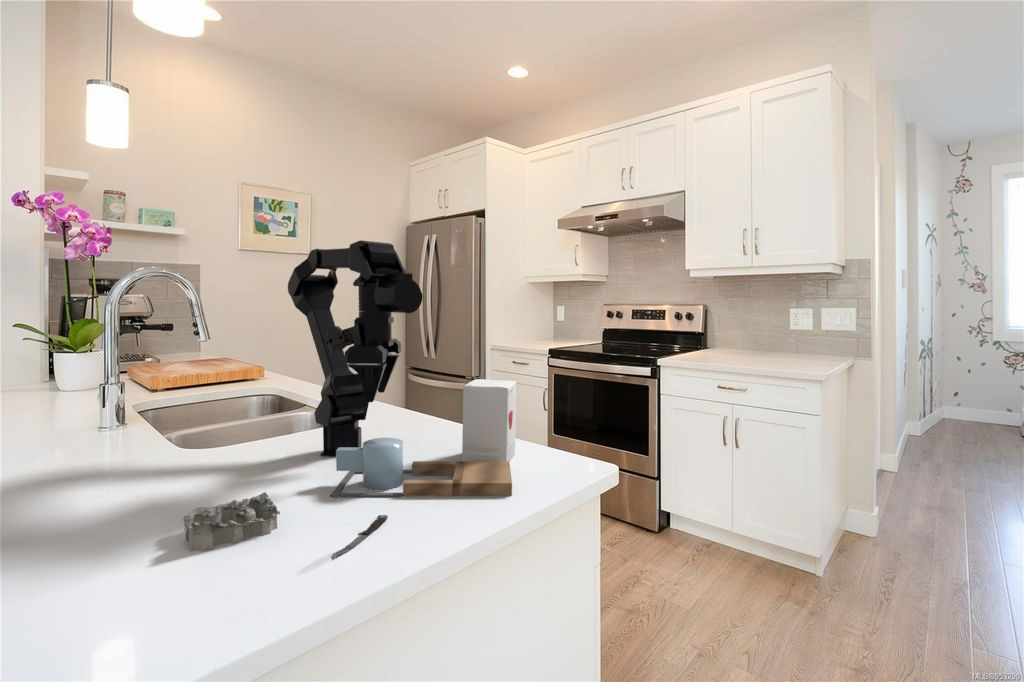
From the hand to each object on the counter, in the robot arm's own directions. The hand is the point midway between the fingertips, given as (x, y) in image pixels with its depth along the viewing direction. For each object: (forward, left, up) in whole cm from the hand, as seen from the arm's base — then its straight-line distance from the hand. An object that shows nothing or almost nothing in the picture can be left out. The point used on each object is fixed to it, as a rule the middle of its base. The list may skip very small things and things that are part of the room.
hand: (375, 396), depth 95 cm
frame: (+2, -9, -13) cm, 16 cm away
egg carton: (-13, -27, -14) cm, 33 cm away
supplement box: (+21, +5, -13) cm, 25 cm away
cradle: (+16, -9, -13) cm, 22 cm away
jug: (+1, -9, -13) cm, 16 cm away
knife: (+3, -30, -14) cm, 33 cm away
